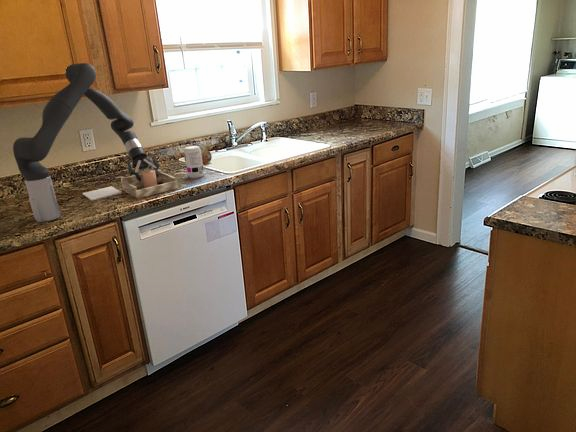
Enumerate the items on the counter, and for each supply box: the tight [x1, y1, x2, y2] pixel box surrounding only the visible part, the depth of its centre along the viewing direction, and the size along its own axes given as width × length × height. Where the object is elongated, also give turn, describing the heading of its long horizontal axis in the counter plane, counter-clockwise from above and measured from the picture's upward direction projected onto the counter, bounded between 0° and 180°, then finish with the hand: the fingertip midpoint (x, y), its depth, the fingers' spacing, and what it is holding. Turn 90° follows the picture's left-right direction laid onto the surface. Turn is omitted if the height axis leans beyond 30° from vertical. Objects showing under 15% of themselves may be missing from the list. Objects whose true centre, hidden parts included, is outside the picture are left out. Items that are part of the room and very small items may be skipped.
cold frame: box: [120, 169, 179, 200], centre depth 214 cm, size 20×18×6 cm
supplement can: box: [183, 145, 205, 179], centre depth 229 cm, size 8×8×15 cm
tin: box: [184, 148, 213, 165], centre depth 254 cm, size 15×3×8 cm, turn 106°
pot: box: [141, 169, 158, 189], centre depth 213 cm, size 6×6×9 cm
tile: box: [82, 186, 123, 202], centre depth 213 cm, size 14×14×1 cm
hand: (149, 178), depth 212 cm, fingers open, 8 cm apart
